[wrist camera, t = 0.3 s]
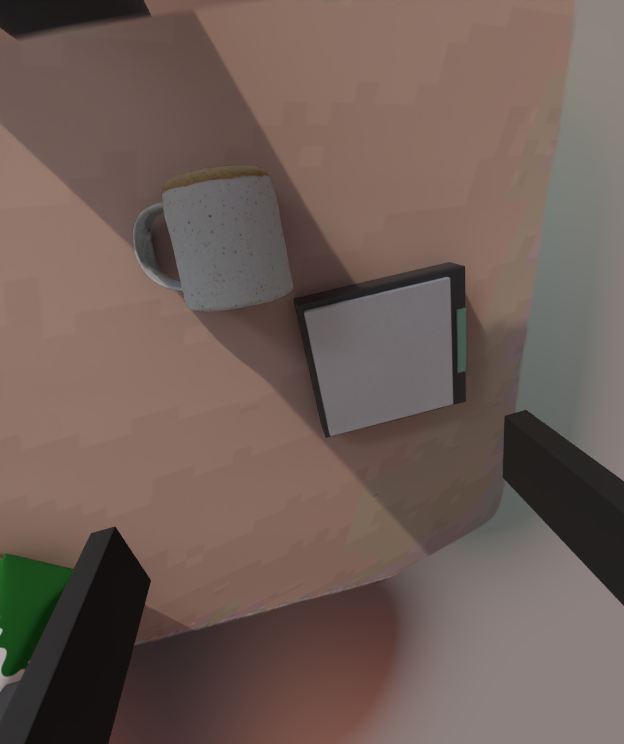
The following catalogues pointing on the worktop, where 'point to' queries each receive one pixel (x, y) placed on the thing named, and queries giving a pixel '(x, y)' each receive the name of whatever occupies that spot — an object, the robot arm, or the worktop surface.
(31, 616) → the milk carton
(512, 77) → the worktop surface
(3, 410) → the worktop surface
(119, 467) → the worktop surface
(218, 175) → the ceramic mug
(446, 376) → the kitchen scale
